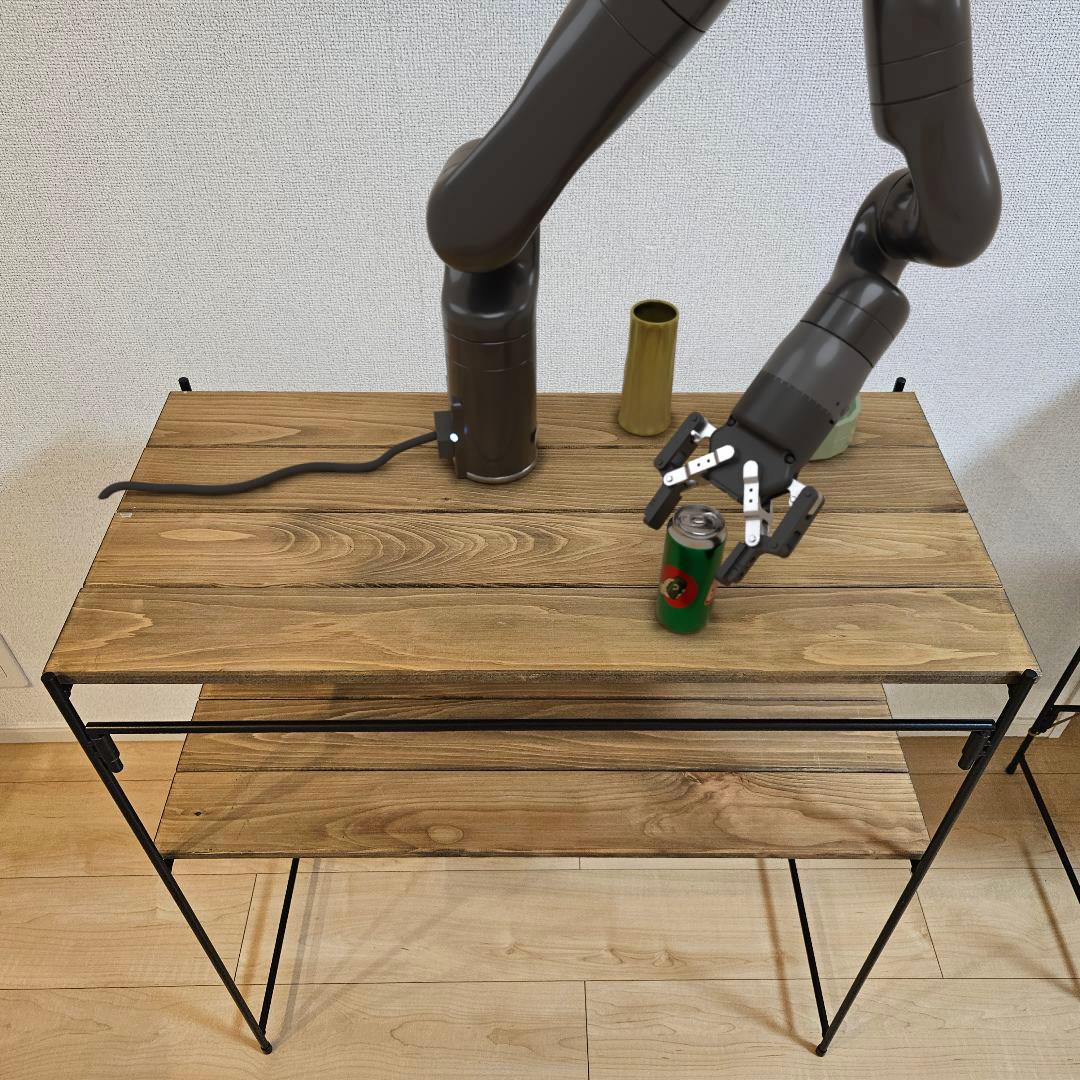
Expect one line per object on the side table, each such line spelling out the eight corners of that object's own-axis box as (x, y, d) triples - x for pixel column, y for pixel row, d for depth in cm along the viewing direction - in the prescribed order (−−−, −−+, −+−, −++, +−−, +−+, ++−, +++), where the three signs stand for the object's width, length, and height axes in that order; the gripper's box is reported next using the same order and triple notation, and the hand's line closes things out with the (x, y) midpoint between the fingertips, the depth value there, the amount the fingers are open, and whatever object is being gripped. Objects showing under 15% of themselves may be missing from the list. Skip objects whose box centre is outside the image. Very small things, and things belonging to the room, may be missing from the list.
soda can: (713, 637, 80) (733, 541, 72) (656, 636, 80) (670, 540, 72) (706, 596, 84) (725, 500, 75) (652, 595, 84) (665, 499, 75)
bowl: (767, 469, 97) (776, 432, 94) (733, 408, 106) (740, 372, 102) (867, 458, 99) (879, 421, 95) (826, 399, 107) (835, 363, 103)
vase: (655, 401, 106) (667, 292, 97) (679, 430, 102) (694, 319, 92) (609, 412, 105) (616, 302, 95) (631, 441, 101) (641, 330, 91)
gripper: (718, 338, 73) (606, 499, 76) (859, 419, 65) (728, 595, 68) (752, 371, 79) (647, 519, 82) (885, 449, 71) (763, 610, 74)
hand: (684, 553), depth 75 cm, fingers open, 8 cm apart
